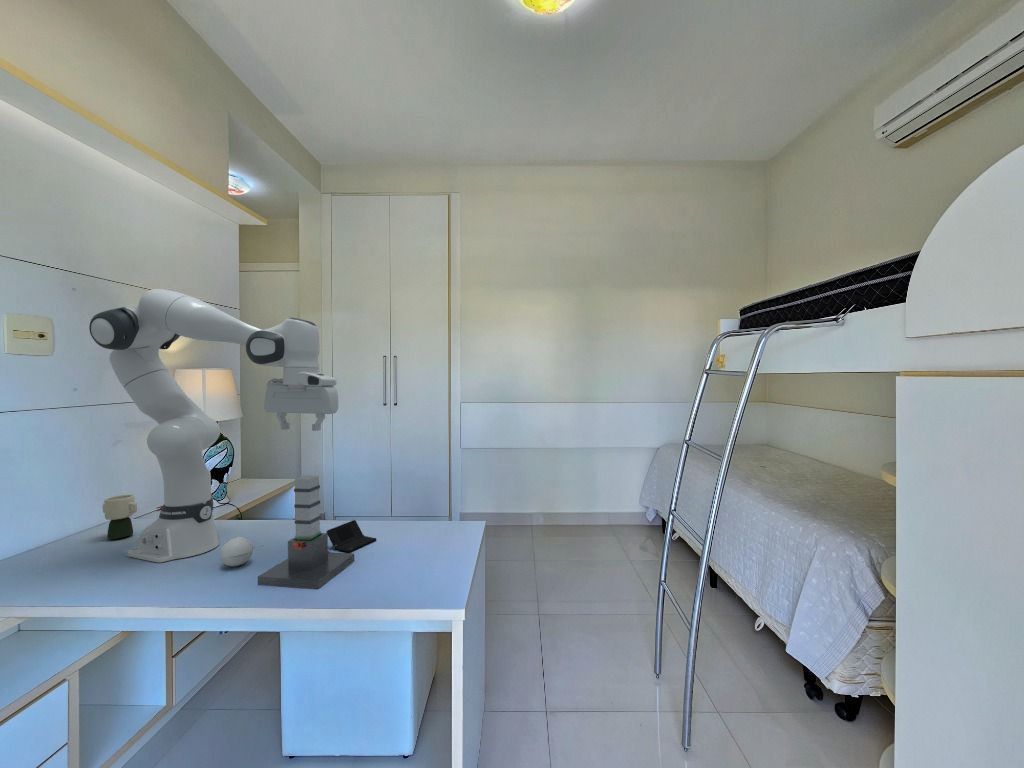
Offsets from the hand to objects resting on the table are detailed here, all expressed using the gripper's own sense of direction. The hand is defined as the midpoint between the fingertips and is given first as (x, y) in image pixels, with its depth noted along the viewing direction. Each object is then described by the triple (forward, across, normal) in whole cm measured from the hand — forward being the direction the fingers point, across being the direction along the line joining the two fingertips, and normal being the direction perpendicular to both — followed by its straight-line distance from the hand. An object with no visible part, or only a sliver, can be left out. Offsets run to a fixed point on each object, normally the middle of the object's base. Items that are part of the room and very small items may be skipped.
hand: (300, 430), depth 117 cm
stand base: (+36, +7, -5) cm, 37 cm away
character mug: (+38, -70, +9) cm, 81 cm away
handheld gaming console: (+36, +8, +14) cm, 39 cm away
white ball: (+36, -14, -3) cm, 39 cm away
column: (+27, +6, -5) cm, 29 cm away
